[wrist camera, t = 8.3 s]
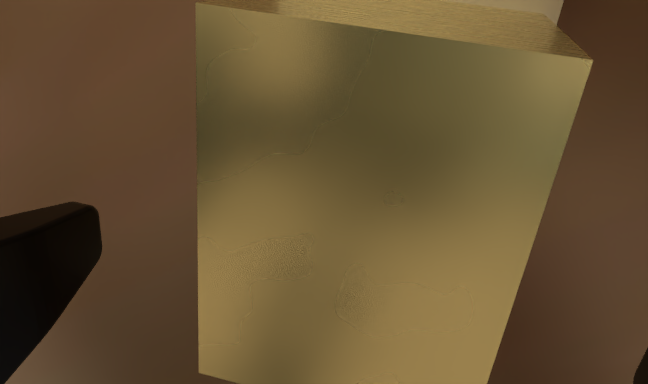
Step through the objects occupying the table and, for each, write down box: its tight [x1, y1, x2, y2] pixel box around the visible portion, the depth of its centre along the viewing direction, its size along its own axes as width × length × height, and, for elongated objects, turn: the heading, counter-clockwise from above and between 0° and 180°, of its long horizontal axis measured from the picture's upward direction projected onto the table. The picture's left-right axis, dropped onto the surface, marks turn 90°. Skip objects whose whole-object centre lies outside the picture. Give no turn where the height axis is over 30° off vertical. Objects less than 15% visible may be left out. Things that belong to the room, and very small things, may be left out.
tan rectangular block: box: [196, 0, 593, 384], centre depth 9 cm, size 6×4×4 cm
